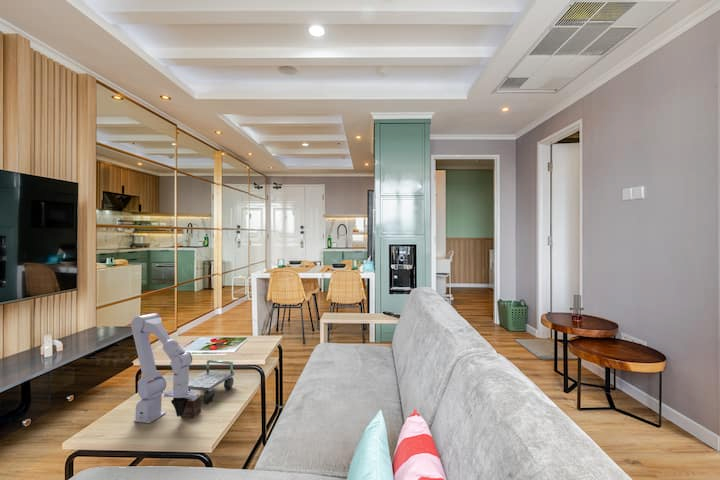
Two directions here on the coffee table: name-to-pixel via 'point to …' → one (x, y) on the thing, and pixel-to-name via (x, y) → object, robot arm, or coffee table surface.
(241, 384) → the coffee table surface
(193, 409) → the box
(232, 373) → the trolley
